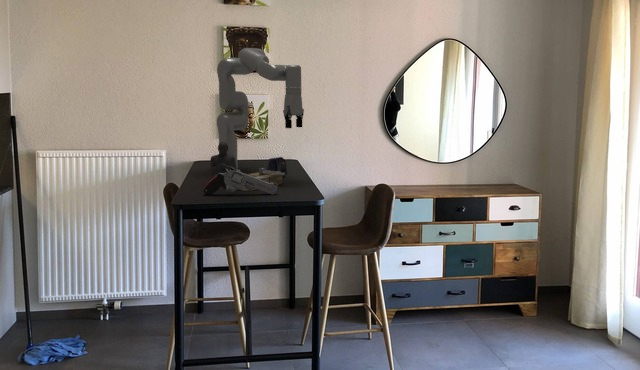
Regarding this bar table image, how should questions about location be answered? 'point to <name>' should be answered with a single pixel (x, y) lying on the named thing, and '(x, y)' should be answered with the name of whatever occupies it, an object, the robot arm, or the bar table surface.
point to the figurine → (222, 160)
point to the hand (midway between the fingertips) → (294, 127)
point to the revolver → (238, 182)
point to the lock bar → (283, 171)
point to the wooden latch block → (264, 177)
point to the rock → (275, 164)
